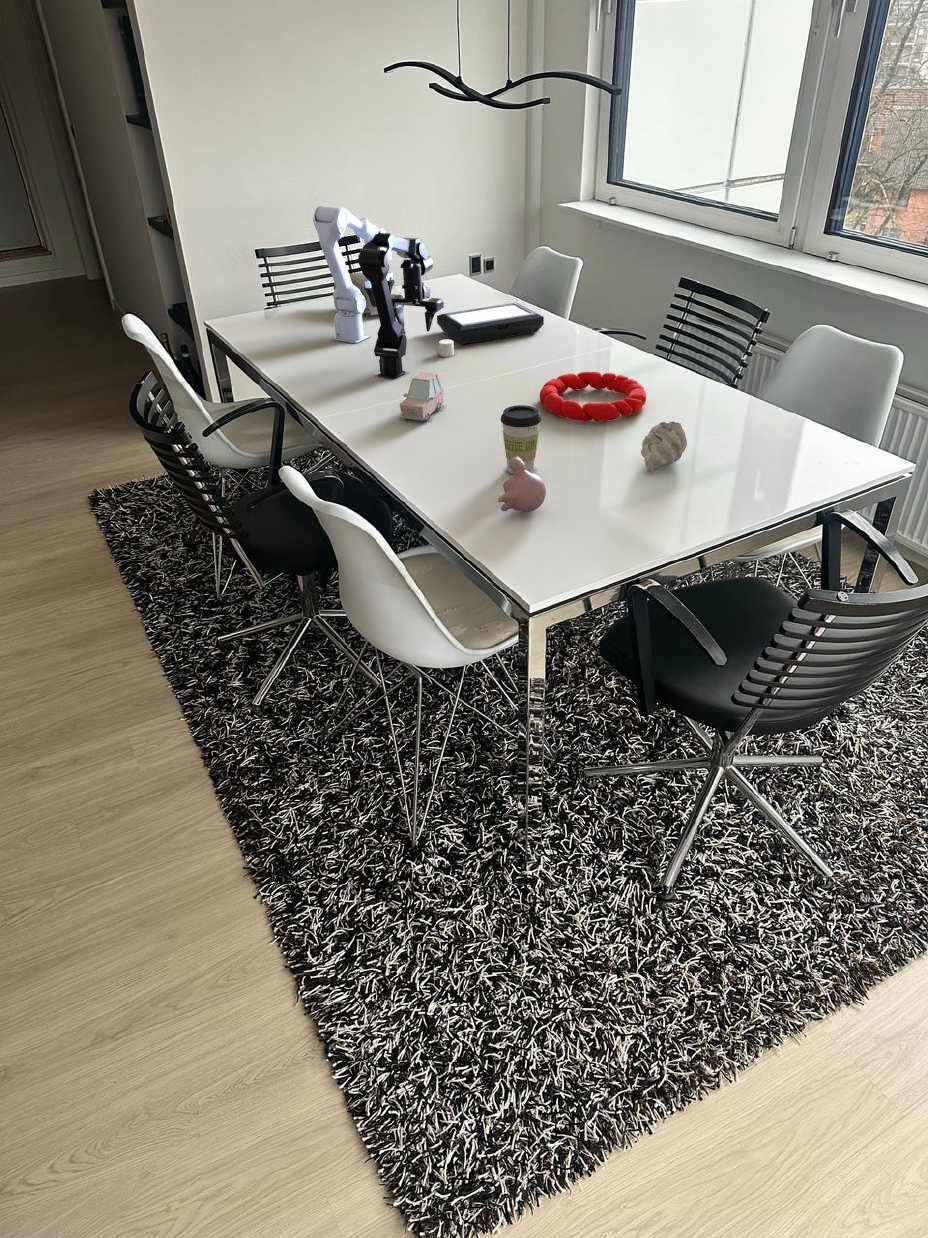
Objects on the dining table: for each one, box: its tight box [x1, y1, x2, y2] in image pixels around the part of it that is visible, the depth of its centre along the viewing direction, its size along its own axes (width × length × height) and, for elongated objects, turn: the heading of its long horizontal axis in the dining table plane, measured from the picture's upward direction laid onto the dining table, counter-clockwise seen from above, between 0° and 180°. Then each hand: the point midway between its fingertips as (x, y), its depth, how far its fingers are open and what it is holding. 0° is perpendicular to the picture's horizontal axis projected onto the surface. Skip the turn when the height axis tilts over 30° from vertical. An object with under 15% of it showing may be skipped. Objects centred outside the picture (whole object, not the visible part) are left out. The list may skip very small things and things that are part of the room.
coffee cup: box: [499, 404, 543, 474], centre depth 216 cm, size 10×10×15 cm
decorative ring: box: [539, 371, 647, 422], centre depth 253 cm, size 7×30×30 cm
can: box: [438, 339, 455, 358], centre depth 294 cm, size 5×5×4 cm
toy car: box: [399, 371, 445, 422], centre depth 250 cm, size 9×15×10 cm, turn 158°
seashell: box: [640, 421, 688, 473], centre depth 218 cm, size 10×15×10 cm
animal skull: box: [333, 271, 402, 316], centre depth 336 cm, size 17×25×20 cm
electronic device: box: [436, 302, 545, 345], centre depth 312 cm, size 32×6×20 cm
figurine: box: [497, 457, 547, 513], centre depth 199 cm, size 9×11×12 cm
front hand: (415, 329), depth 290 cm, fingers open, 9 cm apart
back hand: (380, 303), depth 320 cm, fingers open, 7 cm apart
